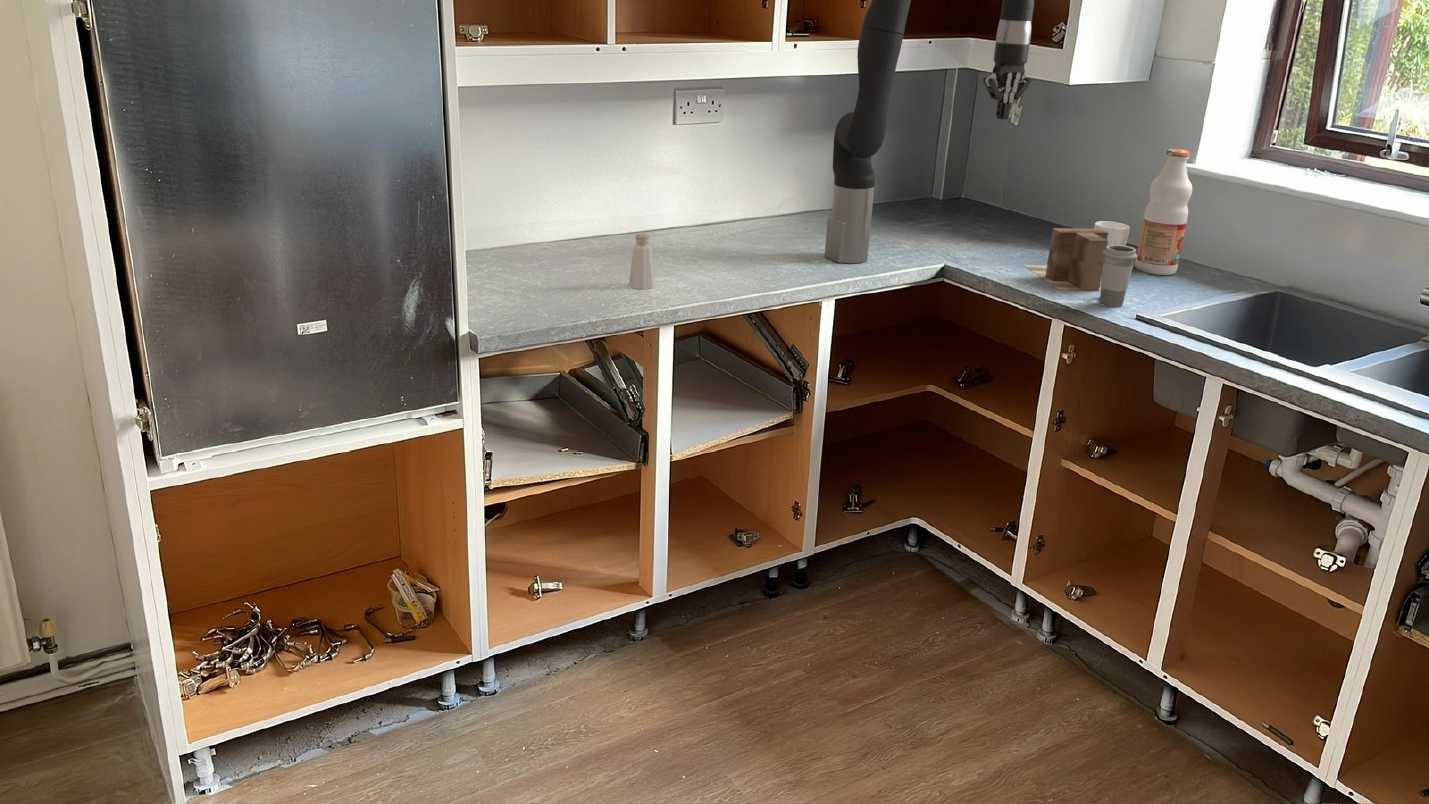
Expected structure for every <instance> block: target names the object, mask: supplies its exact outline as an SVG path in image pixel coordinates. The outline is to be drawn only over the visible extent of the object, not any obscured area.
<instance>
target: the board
mask: <svg viewBox="0 0 1429 804" xmlns="http://www.w3.org/2000/svg"><path fill="white" fill-rule="evenodd" d="M1023 266H1024V267H1025V268H1026V269H1028V270H1030V271H1031V272H1033V273H1034V274H1035V275H1036V276H1038V277H1040V278H1041V279H1043V280H1044V281H1046V282H1047V283H1049V284H1051V285H1052V286H1053V287H1055V288H1056V289H1058V290H1059V291H1061V292H1101V282H1100V288H1099V290H1080V289H1079V288H1077V287H1076V286H1074V285H1073V284H1071V283H1069V282H1068V281H1051V280H1050V279H1048V278H1047V277H1045V276H1046V269H1047V264H1034V265H1033V264H1027V265H1026V264H1023Z"/></svg>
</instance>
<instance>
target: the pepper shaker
mask: <svg viewBox="0 0 1429 804" xmlns="http://www.w3.org/2000/svg"><path fill="white" fill-rule="evenodd" d="M635 238H636V239H635V245H634V246H633V248H632V254H631V255H632V256H631V263H630V270H629V271H630V273H629V279H628V280H629V281H628V282H629V283H628V286H629V287H630V288H632V289H634V290H649V289H652V288H653V287H655V286H656V285H655V283H656V282H655V275H654V272H655V271H654V263H653V249H652V246H651V245H650V244H649V243H650V235H649V234H648V233H646V232H638V233H636V234H635Z"/></svg>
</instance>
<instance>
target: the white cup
mask: <svg viewBox="0 0 1429 804" xmlns="http://www.w3.org/2000/svg"><path fill="white" fill-rule="evenodd" d="M1093 229H1101V230H1103V231H1105V232H1107V233H1108V237H1107V240H1108V243H1107V246H1108V245H1124V246H1127V242H1128V238H1129V233H1130V230H1131V226H1130V225H1128V224H1125V223H1122V222H1117V221H1106V220H1105V221H1103V220H1102V221H1100V220H1099V221H1096V222H1095V223H1094V228H1093Z"/></svg>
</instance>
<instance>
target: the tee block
mask: <svg viewBox="0 0 1429 804" xmlns="http://www.w3.org/2000/svg"><path fill="white" fill-rule="evenodd" d="M1107 237H1108V233H1107V232H1105V231H1103V230H1101V229H1094V228H1070V227H1069V228H1066V227H1065V228H1062V227H1061V228H1059V227H1054V228H1052V232H1051V239H1050V243H1049V251H1048V256H1047V263H1046V265H1047V269H1046V276H1045V277H1047V278H1048V279H1050V280H1051V281H1068V282H1069V283H1071V284H1073V285H1074V286H1076V287H1077V288H1079V289H1080V290H1099V288H1100V282H1101V279H1102V271H1103V262H1104V260H1105V255H1104V254H1103V252H1104V250H1105V249H1106V247H1107V243H1108V240H1107Z"/></svg>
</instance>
